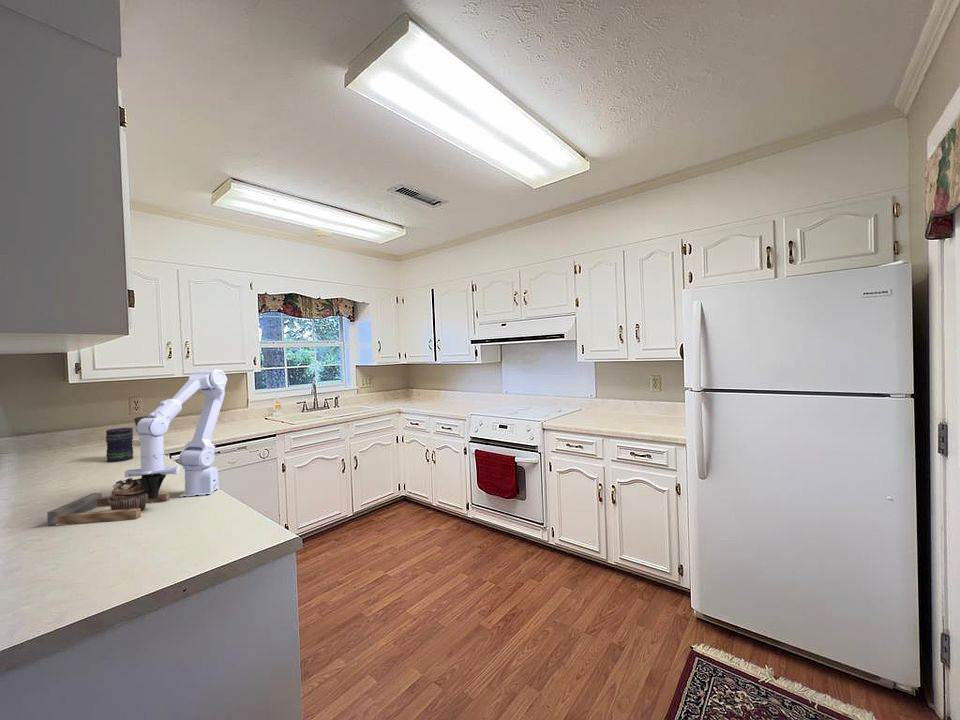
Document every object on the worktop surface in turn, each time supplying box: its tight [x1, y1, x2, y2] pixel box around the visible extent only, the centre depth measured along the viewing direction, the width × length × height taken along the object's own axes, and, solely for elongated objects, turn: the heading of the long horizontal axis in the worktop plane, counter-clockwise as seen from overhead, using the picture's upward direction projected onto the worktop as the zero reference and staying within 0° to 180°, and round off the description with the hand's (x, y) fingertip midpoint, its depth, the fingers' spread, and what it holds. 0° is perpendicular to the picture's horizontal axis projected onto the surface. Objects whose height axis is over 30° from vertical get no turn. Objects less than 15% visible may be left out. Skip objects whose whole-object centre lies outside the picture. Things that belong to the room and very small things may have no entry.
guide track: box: [46, 491, 171, 526], centre depth 126 cm, size 22×17×4 cm
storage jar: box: [105, 427, 134, 464], centre depth 196 cm, size 10×10×15 cm
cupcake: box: [108, 477, 148, 511], centre depth 127 cm, size 10×10×10 cm
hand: (153, 497), depth 128 cm, fingers closed
